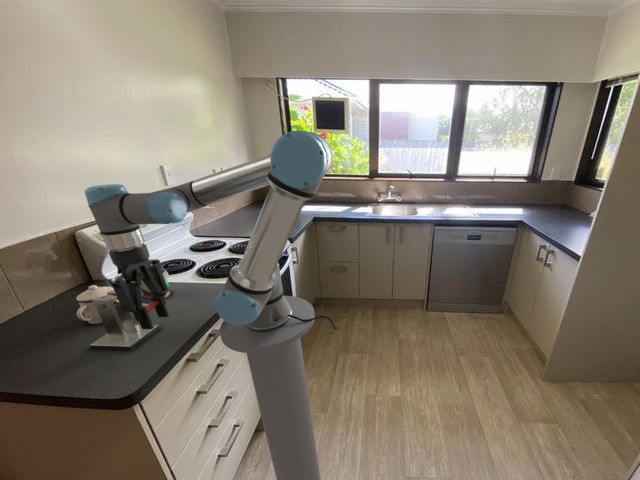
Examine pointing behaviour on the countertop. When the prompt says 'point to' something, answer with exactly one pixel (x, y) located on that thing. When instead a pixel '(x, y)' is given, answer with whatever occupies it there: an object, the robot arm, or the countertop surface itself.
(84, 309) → the teacup with lid
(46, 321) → the countertop surface
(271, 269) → the robot arm
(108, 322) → the bracket
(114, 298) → the lever
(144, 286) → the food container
